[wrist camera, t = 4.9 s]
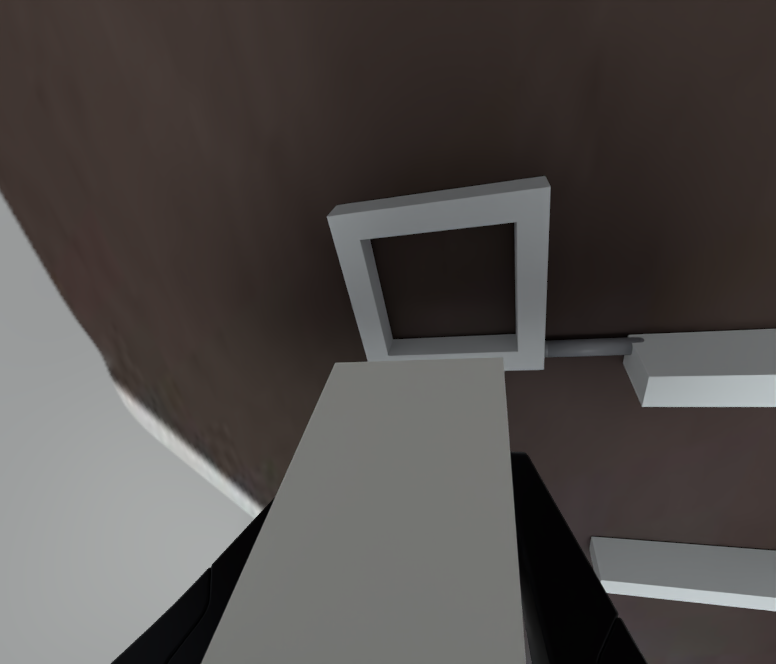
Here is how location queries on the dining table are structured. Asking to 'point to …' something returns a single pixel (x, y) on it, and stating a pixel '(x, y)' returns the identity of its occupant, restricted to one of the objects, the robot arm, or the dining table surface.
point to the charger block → (388, 528)
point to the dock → (688, 389)
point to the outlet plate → (437, 213)
